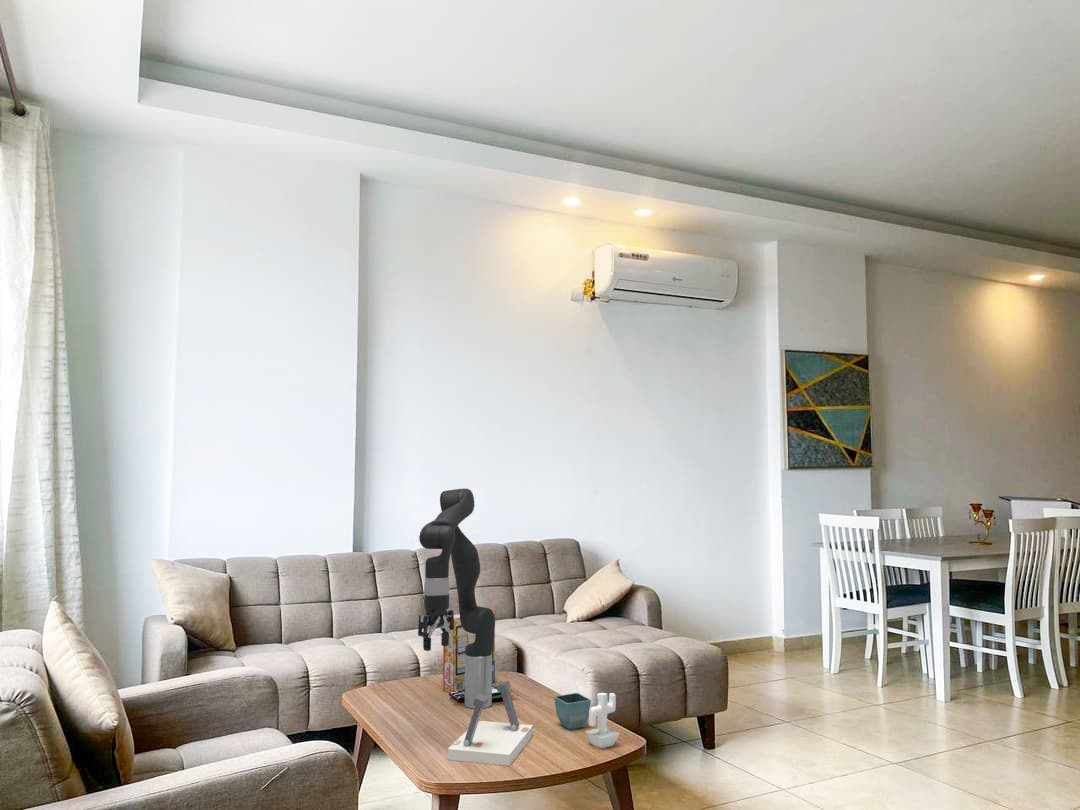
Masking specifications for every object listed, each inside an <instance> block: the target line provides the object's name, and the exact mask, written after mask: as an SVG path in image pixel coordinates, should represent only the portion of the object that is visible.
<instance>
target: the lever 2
mask: <svg viewBox="0 0 1080 810" xmlns="http://www.w3.org/2000/svg"><path fill="white" fill-rule="evenodd" d="M510 689H511V682H510V679H509V680H506V681H503V682H499V683H498V684H497V685H496V690H497V693H498V694H500V695H501V697H502V700H503V705H504V708H505V711H506V715H507V718H508V719H507V720H508V723H510V725H511V730H512V731H515V730H516V729H517V728H518V727H519V724H520V722H519V720H518V716H517V712H516V710H515V709H516V708H515V706H514V702H513V700H512V699H513V698H512V695H511V692H510Z"/></svg>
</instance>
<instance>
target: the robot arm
mask: <svg viewBox="0 0 1080 810" xmlns="http://www.w3.org/2000/svg"><path fill="white" fill-rule="evenodd" d="M474 497H475V496H474V493H473V491H472V490H471V489H469V488H457V489H456V488H455V489H450V490H449V489H448V490H443V491H442V492H441V493H440V495H439V504H440V513H439V514H438V515H437V516H436V518H435V519H434V520H432V521H430V522H428V523H426V524H425V525H424V526H423V527H422V529H421V530H420V533H419V538H418V540H419V543H420V545H421V546H422V547H423V548H425V549H426V550H441V553H440V554H438V555H436V556H432V557H428V558H427V559H426V560H425V564H424V565H425V566H424V567H425V568H424V569H425V572H424V573H425V574H424V575H425V576H424V585H423V587H424V591H423V593H424V594H423V595H424V596H423V609H425V610H426V613H425V614H419V615H418V624H417V625H418V626H417V627H418V629H417V635H418V636H419V637H422V639H423V640H422V646H423V647H422V648H423V650H424V651H425V652H429V651H432V637H431V636H432V635H433V633H434V632H435V630H436V629H438V628H440V629H439V630H440V631H441V639H440V641H441V646H442V647H443V646H448V645H449V633H450V631H451V630H453V629H454V615H455V614H454V613H455V611H454V610H453V609H449V608H450V578H449V577H450V576H449V575H450V558H451V563H452V564H451V565H452V567H453V568H452V569H453V574H454V578H455V584H456V585H455V586H456V591H457V598H458V607H459V608H458V609H459V610H458V611H459V614H460V622H461V625H462V628H463V629H464V630H465V631H466V632H469V633H474V634H475V642H474V643H471V644H468V645H467V646H466V647H465V691H464V707H466V708H469V709H473V710H474V709H475V705H473V703H474V700H475V698H476V697H477V696H478V695H479V694H482V695H484V696H486V697H489V699H488V702H487V704H486V705H485V706H484V707H483V709H487V708H489V707H491V706H492V701H493V700H492V695H493V694H492V692H493V691H492V686H493V684H492V648H493V645H494V635H495V636H496V633H495V632H496V615H495V616H494V613H493V611H494V610H492V609H491V608H489V607H485V606H480V605H479V606H478V605H477V602H476V601H477V600H476V593H475V589H476V585H477V582H478V580H479V577H480V573H481V563H480V557H479V551H478V549H477V548H476V546H475V545H474V543H473V542H472V541H471V540H470V539H469V537H467V536H466V535H465V534H464V532H463V531H462V530H461V529H460V527H459V525H460V524H461V523H462V522H463V521H464V520H465V519H467V518H468V517H469V516H470V515H472V514H473V512H474V509H475V498H474ZM449 622H450V626H449Z"/></svg>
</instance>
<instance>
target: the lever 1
mask: <svg viewBox="0 0 1080 810" xmlns="http://www.w3.org/2000/svg"><path fill="white" fill-rule="evenodd" d="M488 699H489V697H486V696H484V695H482V694H479V695H478V696H477V697H476V698H475V700H474V703H473V705H475V709H474V708H473V713H472V716H471V719H470V721H469V724H468V728H467V730H468V731H467V730H466V731H467V734H466V737H465V740H464V742H463V744H464V746H468V745H470V743H471V742H472V741H473V737H474V734H475V731H476V728H477V725H478V722H479V721H480V718H481V715H482V711H483V709H484V708H483V707H484V706H485V705H486V704H487V702H488Z"/></svg>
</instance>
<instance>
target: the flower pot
mask: <svg viewBox="0 0 1080 810" xmlns="http://www.w3.org/2000/svg"><path fill="white" fill-rule="evenodd" d="M553 697H554V704H555V705H554V706H555V712H556V715H557V718H558V721H559V722H560V724H561V726H562V727H564V728H566V729H567V730H575V729H580V728H584V727H585V725H586V724H587V722H588V721H589V710H590V708H591V704H592V703H591V702H592V699H590V698H589V697H586V696H584V695H582V694H581V693H579V692H573V693H569V694H568V693H567V694H561V695H556V696H553Z"/></svg>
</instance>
